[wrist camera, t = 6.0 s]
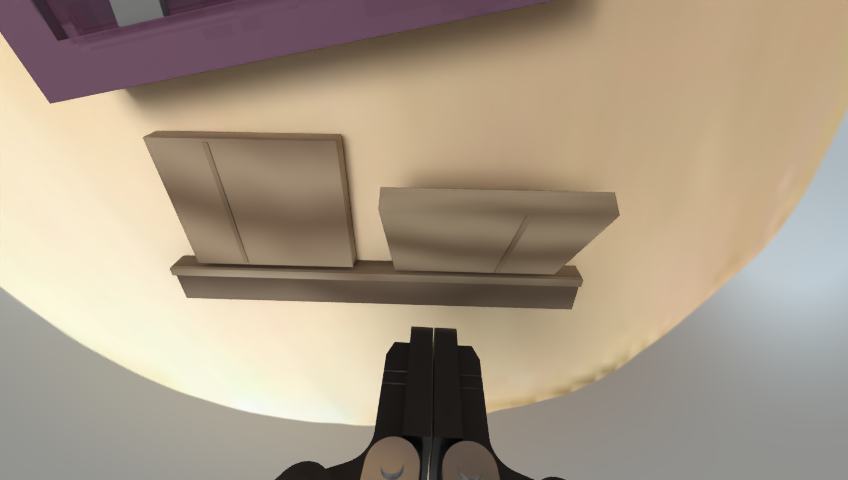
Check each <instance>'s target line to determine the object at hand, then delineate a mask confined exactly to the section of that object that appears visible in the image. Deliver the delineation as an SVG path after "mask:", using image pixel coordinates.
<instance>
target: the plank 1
mask: <svg viewBox="0 0 848 480" xmlns="http://www.w3.org/2000/svg"><path fill="white" fill-rule="evenodd" d="M143 139H144V142H145V144H146V146H147V148H148V150H149V153H150V155H151V157H152V159H153V162H154V164H155V166H156V168H157V171H158V173H159V175H160V177H161V180H162V182H163V184H164V186H165V188H166V191H167V193H168V195H169V197H170V200H171V202H172V204H173V206H174V209H175V211H176V213H177V215H178V218H179V220H180V222H181V224H182V226H183V229H184V231H185V233H186V235H187V238H188V240H189V242H190V244H191V247H192V249H193V251H194V253H195V256H196V258H197V260H198V262H199V263H219V264H255V265H291V266H328V267H353V265H354V262H355V259H356V252H355V244H354V236H353V228H352V220H351V212H350V204H349V196H348V188H347V180H346V172H345V164H344V156H343V148H342V140H341V134H293V133H242V132H190V131H155V132H153V133H151V134H149V135H147V136H144V137H143Z"/></svg>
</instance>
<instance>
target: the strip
mask: <svg viewBox="0 0 848 480" xmlns="http://www.w3.org/2000/svg"><path fill="white" fill-rule="evenodd" d="M170 270H171V272H172V275H177V277H178V279H179V282H180V284H181V286H182V288H183V290H184V292H185V295H186V297H187V298H211V299H244V300H278V301H311V302H345V303H378V304H412V305H445V306H479V307H512V308H546V309H572V306H573V303H574V300H575V297H576V293H577V290H578V287H581V285H582V282H583V279H582V277H581V275H580V274H579V272H578V270H577V268H576V267H575V266H563V267H562V268H561V269H560V270H559V271H557V272H556V273H555V274H554V275H552V274H516V273H480V272H444V271H408V270H395V268H394V264H393V261H364V260H355V262H354V265H353V267H328V266H291V265H255V264H219V263H199V262H198V260H197V258H196V256H183V257H181V258H180V259H179V260H178V261H177V262H176V263H175V264H174V265H173V266H172V267H171V268H170Z"/></svg>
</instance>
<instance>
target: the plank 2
mask: <svg viewBox="0 0 848 480" xmlns="http://www.w3.org/2000/svg"><path fill="white" fill-rule="evenodd" d="M378 210H379V213H380V217H381V220H382V224H383V228H384V231H385V235H386V239H387V242H388V246H389V249H390V253H391V257H392V260H393V264H394V268H395V270H408V271H444V272H480V273H516V274H552V275H554V274H555V273H556V272H557V271H559V270H560V269H561V268H562V267H563V266H564V265H565V264H566V263H567V262H569V261H570V260H571V259H572V258H573V257H574V256H575V255H576V254H577V253H578V252H580V251H581V250H582V249H583V248H584V247H585V246H586V245H587V244H588V243H590V242H591V241H592V240H593V239H594V238H595V237H596V236H597V235H598V234H600V233H601V232H602V231H603V230H604V229H605V228H606V227H607V226H608V225H610V224H611V223H612V222H613V221H614V220H615V219H616V218H617V217H618V216H620V214H619V210H618V205H617V200H616V195H615V192H572V191H528V190H484V189H440V188H396V187H381V188H380V199H379V209H378Z"/></svg>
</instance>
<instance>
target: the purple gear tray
mask: <svg viewBox="0 0 848 480" xmlns="http://www.w3.org/2000/svg"><path fill="white" fill-rule="evenodd" d="M548 1H553V0H0V32H1V34H2V35H3V37H4V38H5V39H6V41H7V42H8V44H9V45H10V47H11V48H12V50H13V51H14V52H15V54H16V55H17V57H18V58H19V60H20V61H21V62H22V64H23V65H24V67H25V68H26V70H27V71H28V72H29V74H30V75H31V77H32V78H33V80H34V81H35V83H36V84H37V85H38V87H39V88H40V90H41V91H42V93H43V94H44V95H45V97H46V98H47V100H48V101H49V103H55V102H60V101H65V100H70V99H75V98H80V97H85V96H89V95H94V94H99V93H104V92H109V91H114V90H119V89H124V88H128V87H133V86H138V85H143V84H148V83H153V82H158V81H163V80H168V79H172V78H177V77H182V76H187V75H192V74H197V73H202V72H207V71H211V70H216V69H221V68H226V67H231V66H236V65H241V64H246V63H251V62H255V61H260V60H265V59H270V58H275V57H280V56H285V55H290V54H294V53H299V52H304V51H309V50H314V49H319V48H324V47H329V46H334V45H338V44H343V43H348V42H353V41H358V40H363V39H368V38H373V37H377V36H382V35H387V34H392V33H397V32H402V31H407V30H412V29H417V28H421V27H426V26H431V25H436V24H441V23H446V22H451V21H456V20H460V19H465V18H470V17H475V16H480V15H485V14H490V13H495V12H500V11H504V10H509V9H514V8H519V7H524V6H529V5H534V4H539V3H543V2H548Z"/></svg>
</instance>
